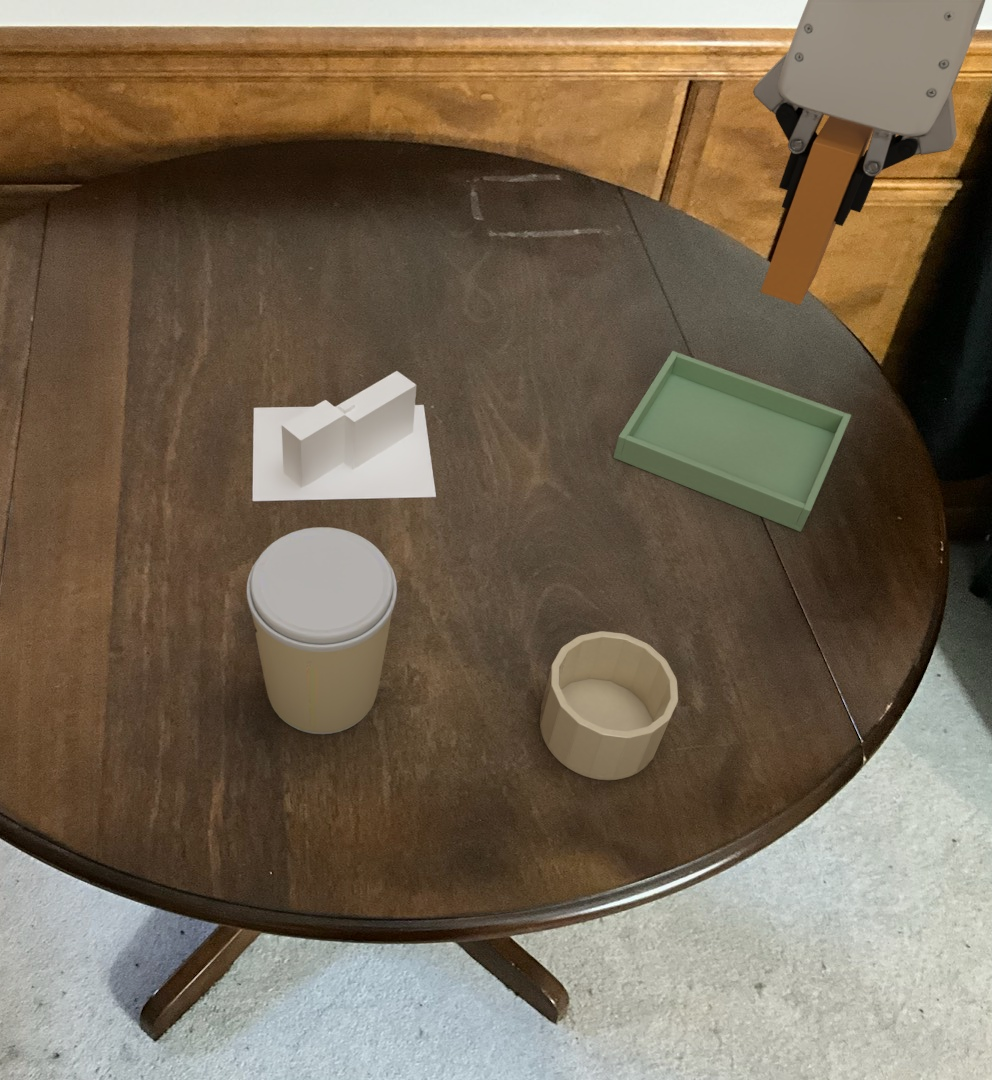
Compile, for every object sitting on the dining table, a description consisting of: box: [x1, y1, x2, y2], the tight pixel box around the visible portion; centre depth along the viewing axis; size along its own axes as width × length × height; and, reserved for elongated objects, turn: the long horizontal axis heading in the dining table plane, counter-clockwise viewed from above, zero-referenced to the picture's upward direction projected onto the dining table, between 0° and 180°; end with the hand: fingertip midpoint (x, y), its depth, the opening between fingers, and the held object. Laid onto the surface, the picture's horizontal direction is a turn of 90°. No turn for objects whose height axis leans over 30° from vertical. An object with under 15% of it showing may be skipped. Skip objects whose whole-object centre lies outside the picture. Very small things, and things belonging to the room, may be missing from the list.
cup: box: [539, 630, 679, 781], centre depth 74 cm, size 8×8×6 cm
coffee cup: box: [246, 526, 398, 735], centre depth 73 cm, size 9×9×12 cm
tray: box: [612, 350, 852, 533], centre depth 95 cm, size 16×13×2 cm
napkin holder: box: [252, 370, 437, 502], centre depth 91 cm, size 15×11×6 cm
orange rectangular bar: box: [760, 116, 874, 306], centre depth 79 cm, size 3×4×12 cm, turn 151°
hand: (817, 205), depth 78 cm, fingers closed on orange rectangular bar, 3 cm apart
